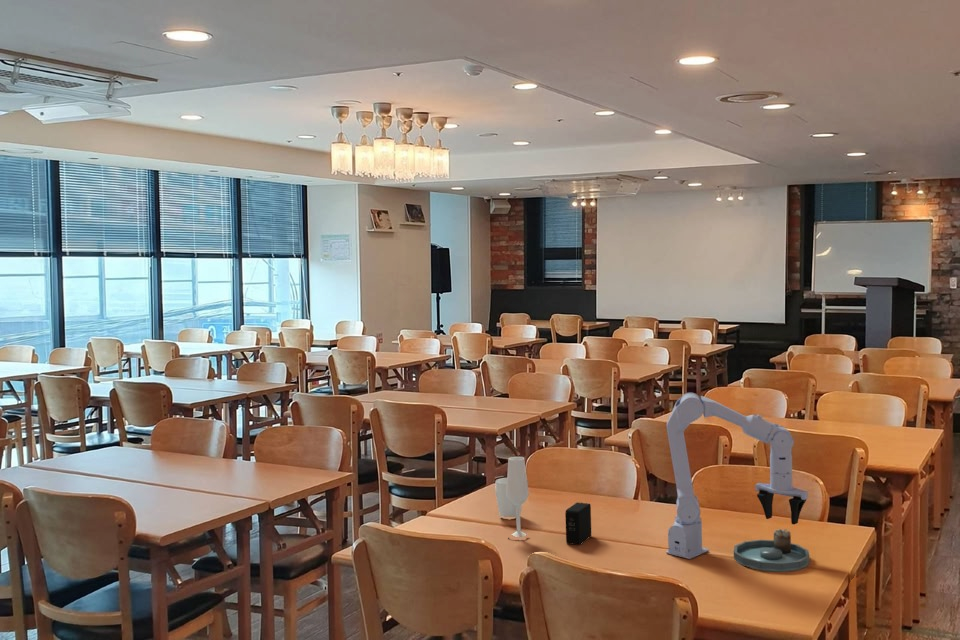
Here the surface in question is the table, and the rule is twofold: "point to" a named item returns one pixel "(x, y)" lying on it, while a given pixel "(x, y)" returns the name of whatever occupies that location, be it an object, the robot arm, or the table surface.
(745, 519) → the table surface
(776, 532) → the brown ball-rimmed cylinder
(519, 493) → the champagne flute
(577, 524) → the electronic device
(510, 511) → the cup
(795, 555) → the round groove tray
